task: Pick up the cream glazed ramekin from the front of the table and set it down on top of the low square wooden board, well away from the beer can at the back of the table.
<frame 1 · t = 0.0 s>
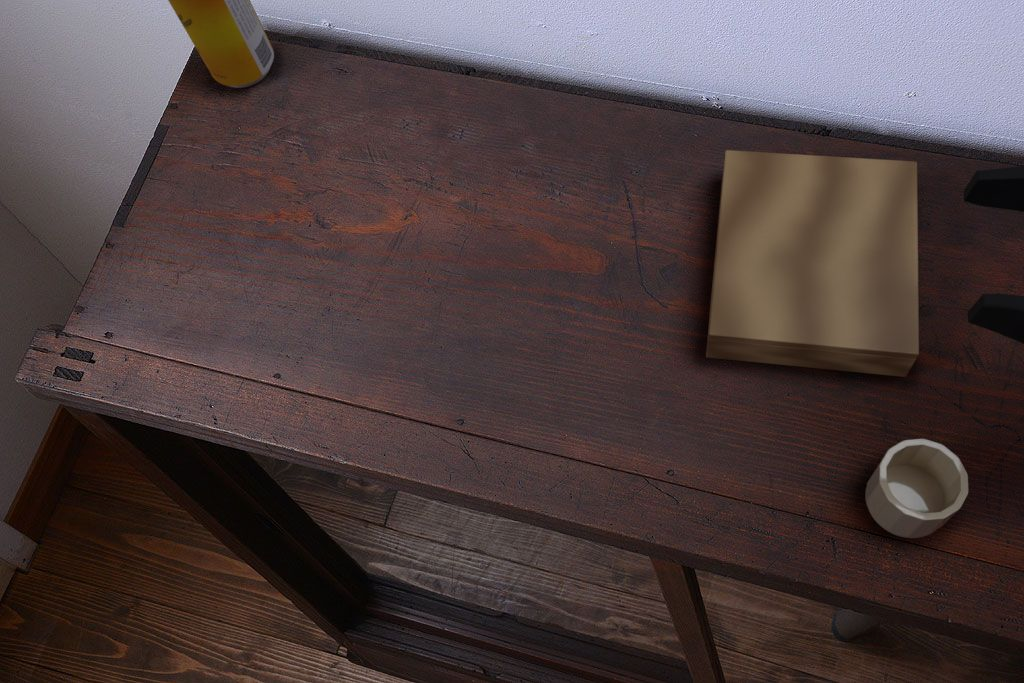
hand: (972, 245, 52), 19 cm above the table, tool horizontal, fingers open, 7 cm apart
beer can: (245, 68, 90), on the table
ramekin: (906, 499, 65), on the table
square wooden board: (808, 271, 74), on the table
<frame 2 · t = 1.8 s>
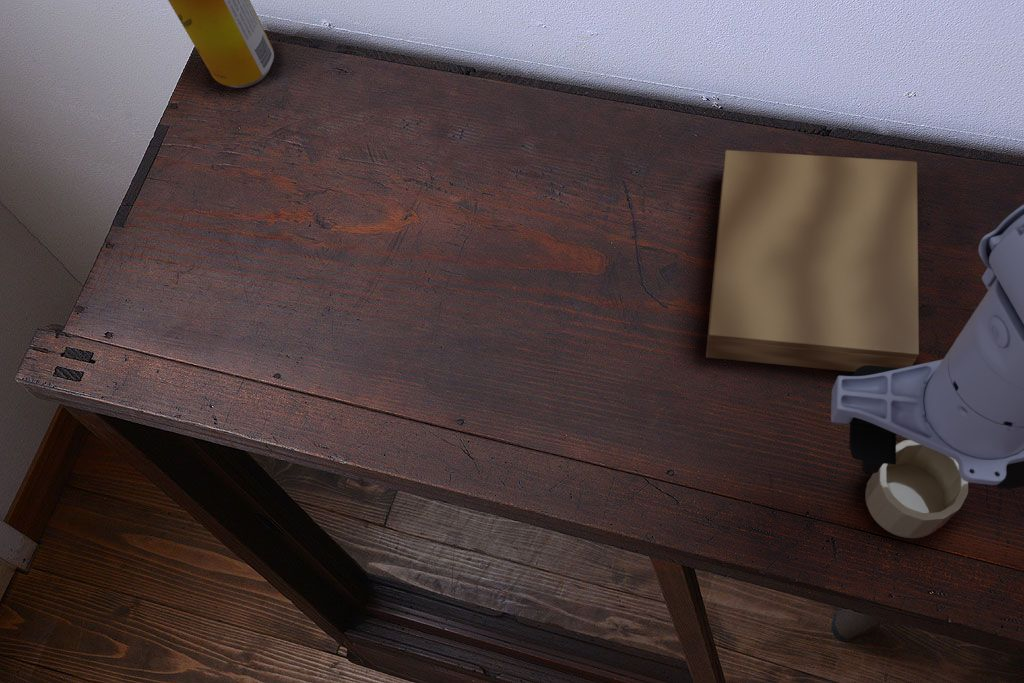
hand: (934, 464, 59), 7 cm above the table, tool pointing down, fingers open, 7 cm apart
nothing on the table moved.
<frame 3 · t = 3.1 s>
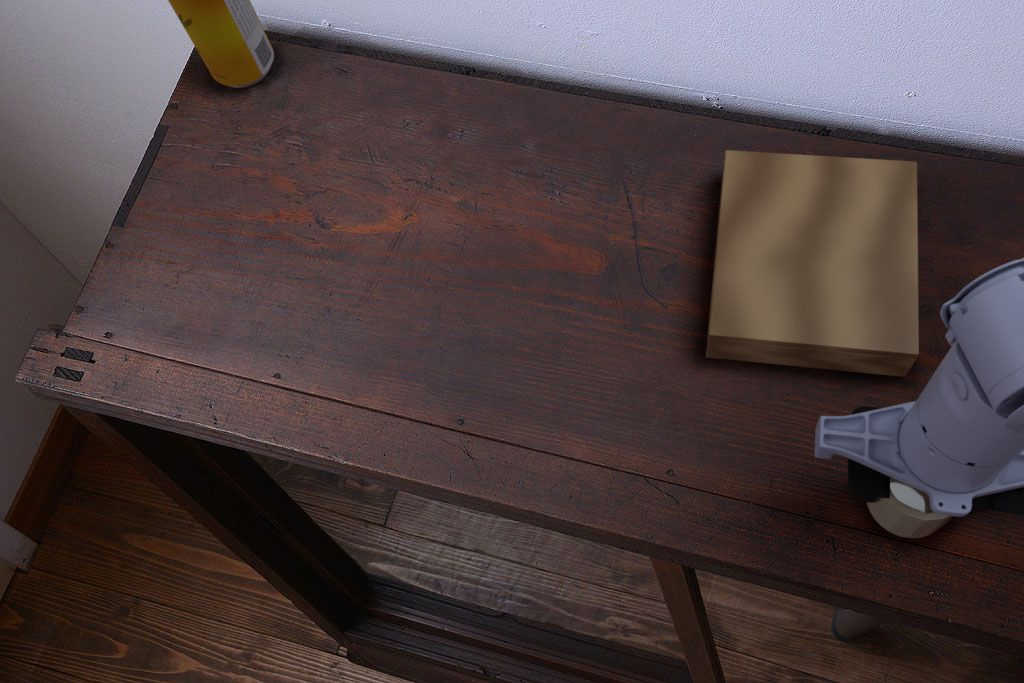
hand: (911, 493, 64), 1 cm above the table, tool pointing down, fingers closed on ramekin, 5 cm apart
ramekin: (907, 499, 65), on the table, touching gripper
everything else where it was.
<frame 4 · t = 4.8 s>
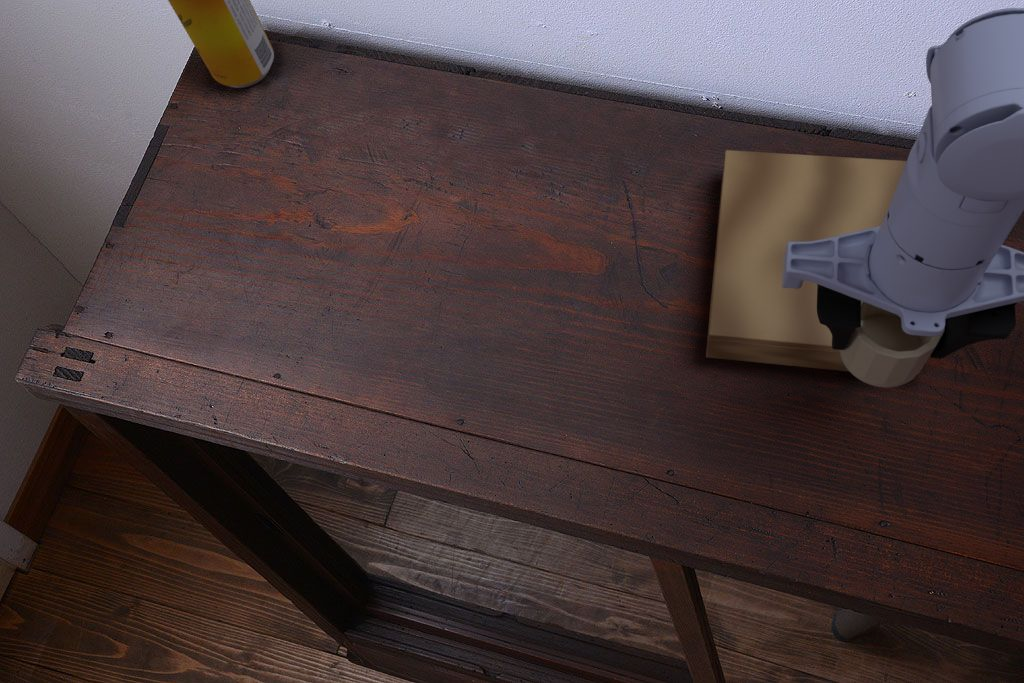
hand: (885, 339, 61), 8 cm above the table, tool pointing down, fingers closed on ramekin, 5 cm apart
ramekin: (881, 349, 63), point 7 cm above the table, touching gripper
everything else where it was.
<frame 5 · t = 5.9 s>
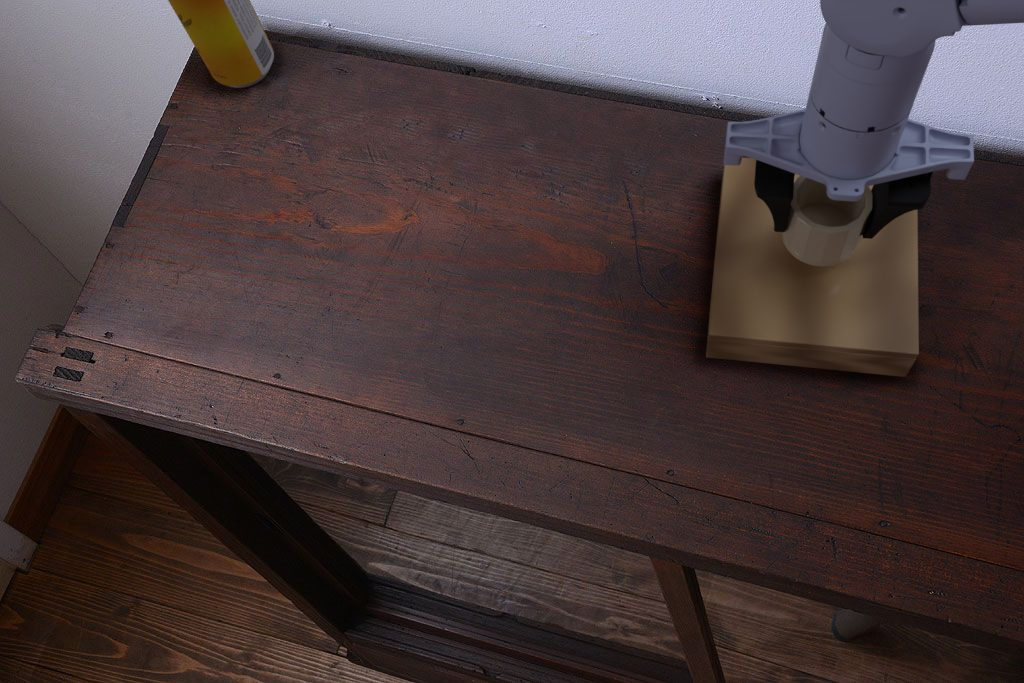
hand: (822, 223, 68), 7 cm above the table, tool pointing down, fingers closed on ramekin, 5 cm apart
ramekin: (820, 234, 69), point 5 cm above the table, touching gripper
everything else where it was.
when the fingers open (5 cm above the table, at t = 6.9 s): ramekin stays where it is, resting on square wooden board.
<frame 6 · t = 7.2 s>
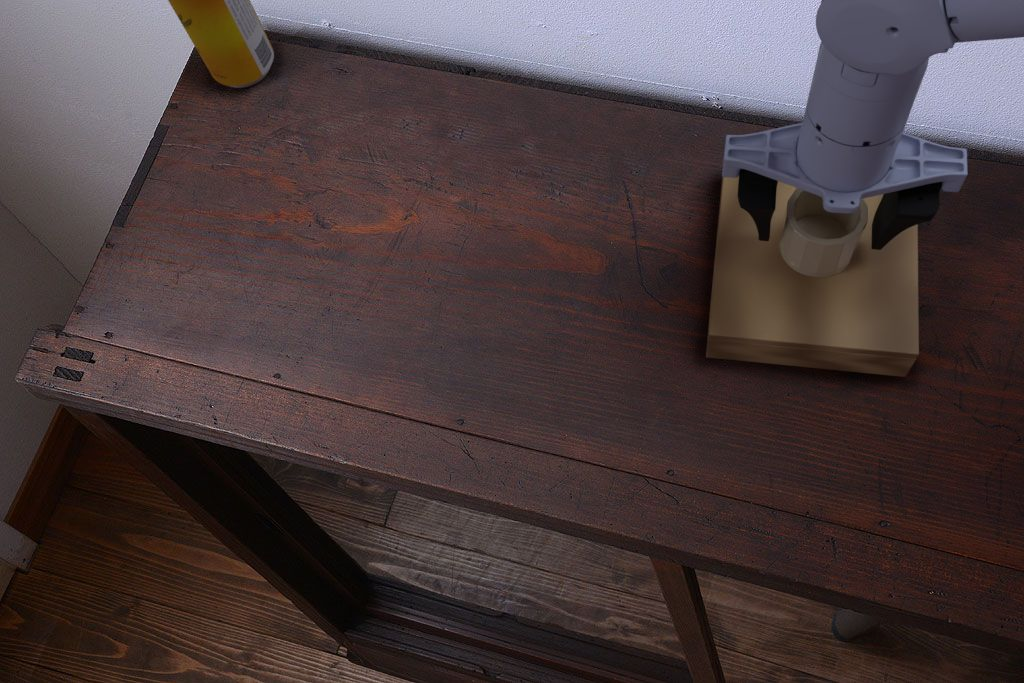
hand: (819, 233, 69), 5 cm above the table, tool pointing down, fingers open, 7 cm apart
ramekin: (816, 245, 70), point 4 cm above the table, touching square wooden board
everything else where it was.
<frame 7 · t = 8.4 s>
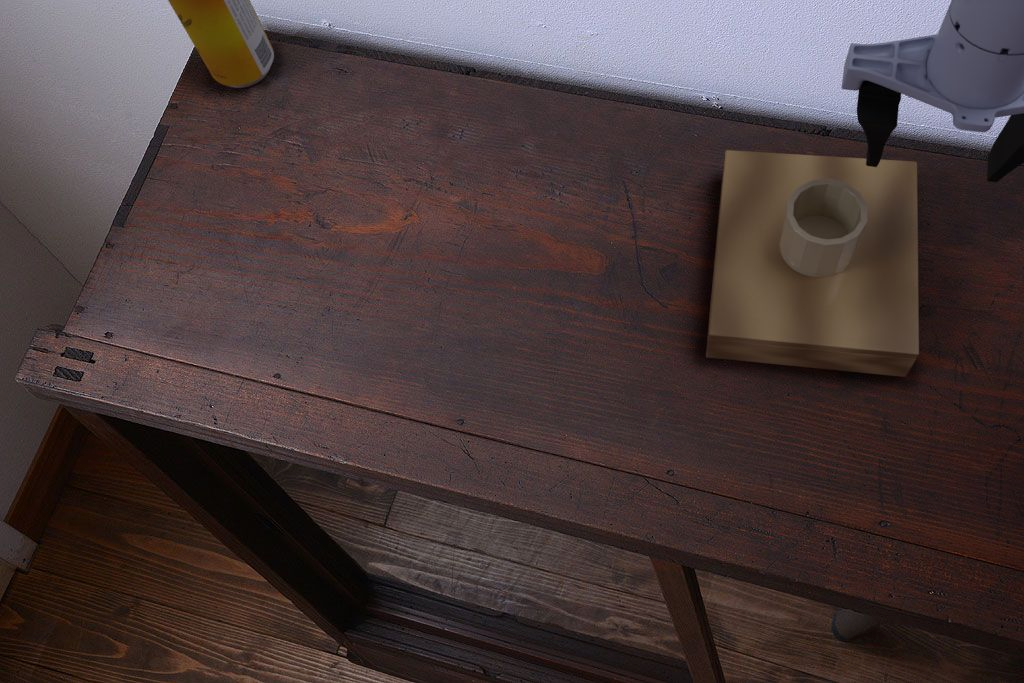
hand: (931, 162, 65), 10 cm above the table, tool pointing down, fingers open, 7 cm apart
nothing on the table moved.
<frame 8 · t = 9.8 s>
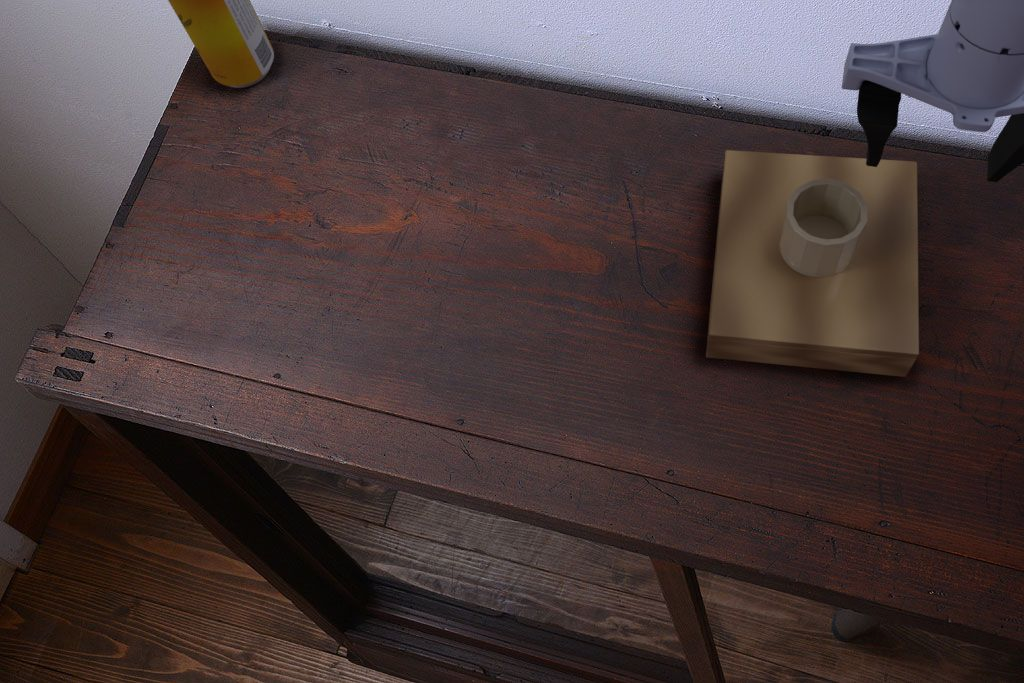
hand: (932, 161, 65), 10 cm above the table, tool pointing down, fingers open, 7 cm apart
nothing on the table moved.
at the end: ramekin inside the target area on the square wooden board (0.0 cm from its centre), point 3.8 cm above the square wooden board's base; ramekin tilted 0°; ramekin touching square wooden board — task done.
